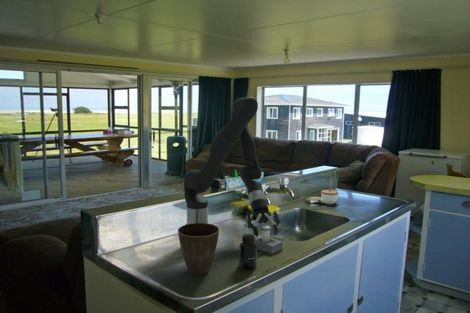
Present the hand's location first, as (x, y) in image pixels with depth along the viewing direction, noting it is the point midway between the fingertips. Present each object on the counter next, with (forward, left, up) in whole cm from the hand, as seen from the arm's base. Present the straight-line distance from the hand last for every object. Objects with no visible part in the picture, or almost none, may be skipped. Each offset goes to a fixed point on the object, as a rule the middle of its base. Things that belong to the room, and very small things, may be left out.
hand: (266, 235), depth 155 cm
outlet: (+1, +1, -6) cm, 6 cm away
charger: (+1, +1, -6) cm, 6 cm away
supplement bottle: (-19, -6, -6) cm, 21 cm away
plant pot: (-35, +4, -6) cm, 36 cm away
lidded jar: (+91, +22, -6) cm, 94 cm away
